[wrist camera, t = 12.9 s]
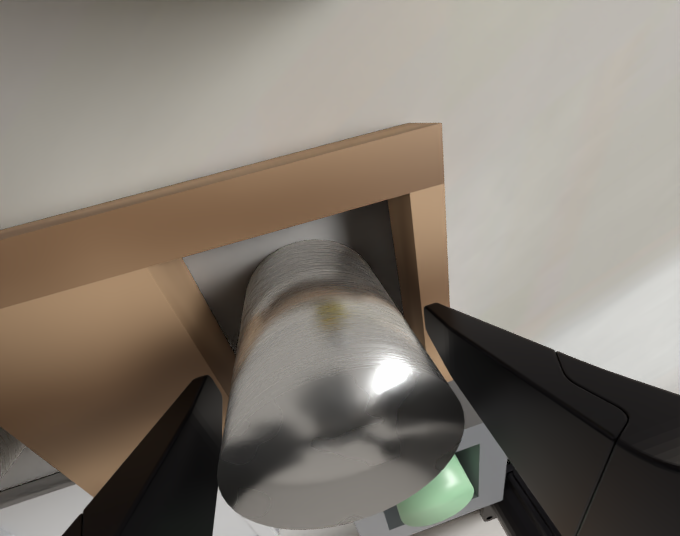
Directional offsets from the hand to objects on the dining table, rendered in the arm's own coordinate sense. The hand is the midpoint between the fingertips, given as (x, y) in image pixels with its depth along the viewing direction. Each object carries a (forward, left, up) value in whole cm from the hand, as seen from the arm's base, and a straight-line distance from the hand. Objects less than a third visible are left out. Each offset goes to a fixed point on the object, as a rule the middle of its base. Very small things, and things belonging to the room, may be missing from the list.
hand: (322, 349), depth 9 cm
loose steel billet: (0, 0, -3) cm, 3 cm away
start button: (-8, -2, -1) cm, 9 cm away
